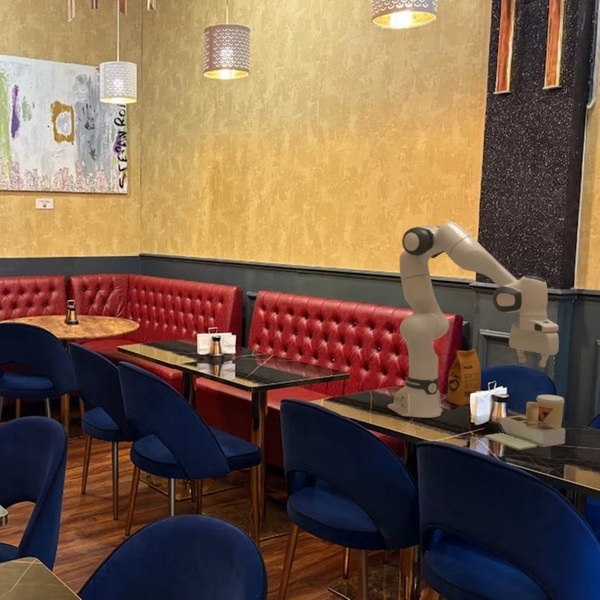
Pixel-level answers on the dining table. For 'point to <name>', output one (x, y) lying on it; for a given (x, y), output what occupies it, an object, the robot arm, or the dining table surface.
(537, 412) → the plug
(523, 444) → the mat
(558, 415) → the coffee cup
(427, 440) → the dining table surface
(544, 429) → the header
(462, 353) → the coffee package
